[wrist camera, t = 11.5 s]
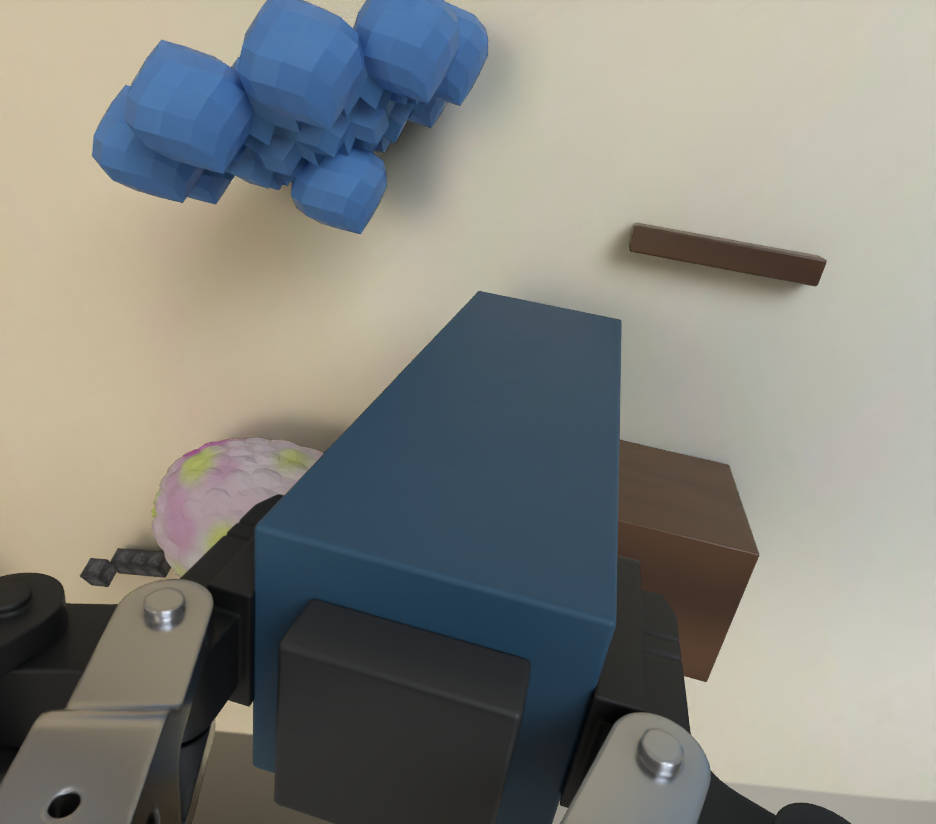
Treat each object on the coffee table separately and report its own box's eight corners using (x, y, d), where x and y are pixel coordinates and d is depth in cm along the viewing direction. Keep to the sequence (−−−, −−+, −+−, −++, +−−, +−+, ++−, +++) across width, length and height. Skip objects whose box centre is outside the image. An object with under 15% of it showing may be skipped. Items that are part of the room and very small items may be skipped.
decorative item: (425, 654, 29) (203, 707, 23) (312, 579, 38) (125, 602, 31) (449, 460, 29) (229, 456, 22) (329, 427, 37) (143, 418, 31)
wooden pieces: (700, 576, 30) (720, 686, 24) (554, 539, 31) (538, 636, 25) (820, 255, 24) (889, 293, 18) (634, 222, 25) (639, 246, 19)
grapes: (296, 262, 29) (101, 332, 18) (227, 107, 27) (-38, 81, 16) (542, 165, 25) (483, 179, 14) (483, -24, 23) (362, -173, 12)
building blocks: (123, 676, 38) (35, 621, 32) (166, 591, 41) (93, 526, 36) (170, 683, 37) (88, 628, 31) (209, 595, 41) (143, 530, 35)
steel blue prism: (521, 763, 20) (557, 966, 7) (370, 717, 21) (137, 818, 7) (606, 365, 25) (723, 28, 12) (481, 338, 25) (457, -7, 12)
